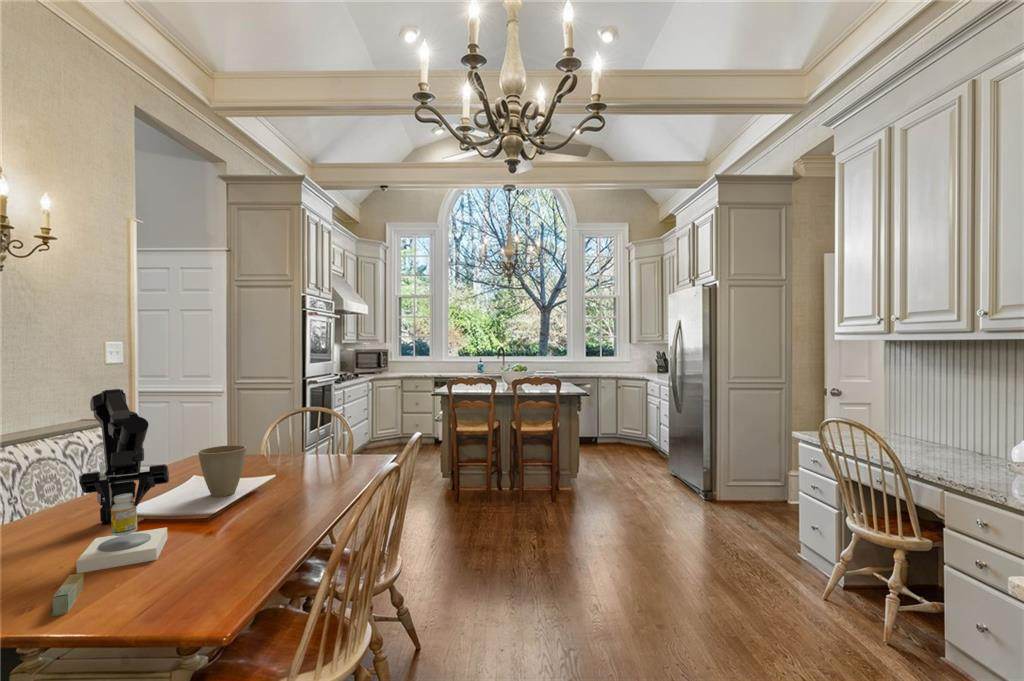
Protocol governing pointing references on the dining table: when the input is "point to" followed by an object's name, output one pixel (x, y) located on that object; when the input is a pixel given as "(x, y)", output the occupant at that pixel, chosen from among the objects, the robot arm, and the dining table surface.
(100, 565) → the plinth
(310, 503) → the dining table surface
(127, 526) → the supplement bottle
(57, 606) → the medication box
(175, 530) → the dining table surface
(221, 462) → the plant pot
